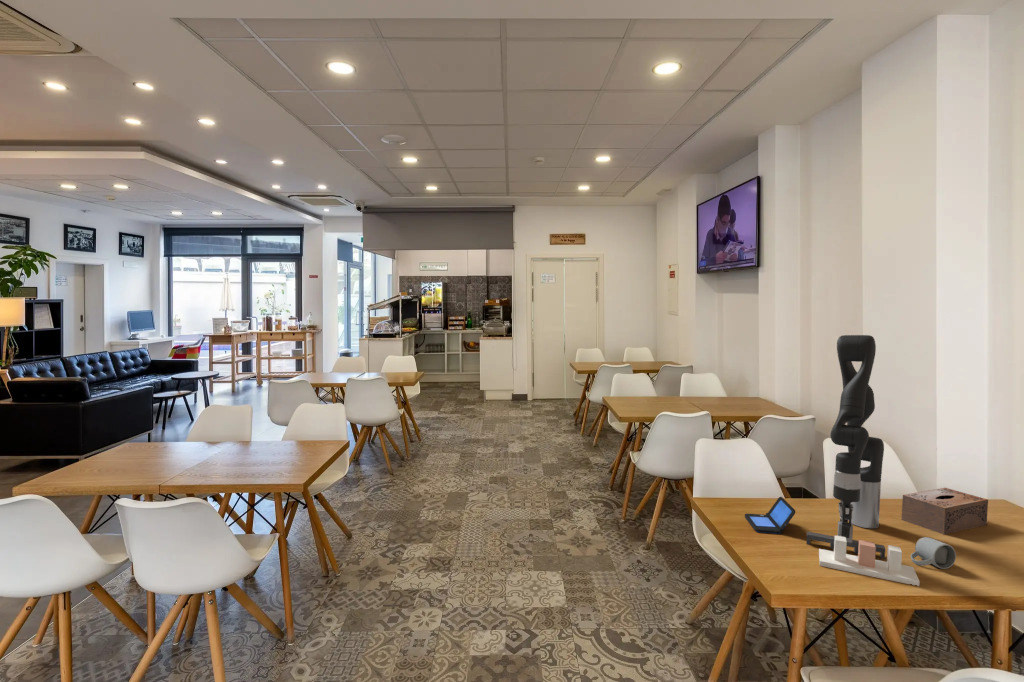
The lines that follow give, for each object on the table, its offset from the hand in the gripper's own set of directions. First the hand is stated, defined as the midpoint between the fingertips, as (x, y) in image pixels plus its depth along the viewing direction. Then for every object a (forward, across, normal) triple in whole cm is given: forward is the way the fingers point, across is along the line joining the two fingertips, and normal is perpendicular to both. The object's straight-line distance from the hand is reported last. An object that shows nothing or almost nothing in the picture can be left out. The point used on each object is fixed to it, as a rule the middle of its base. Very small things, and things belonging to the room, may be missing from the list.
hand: (844, 532), depth 177 cm
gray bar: (+6, 0, 0) cm, 6 cm away
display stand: (+6, +12, +5) cm, 14 cm away
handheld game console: (+6, -10, -23) cm, 26 cm away
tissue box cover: (+6, -48, +35) cm, 60 cm away
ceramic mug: (+6, -3, +24) cm, 25 cm away
